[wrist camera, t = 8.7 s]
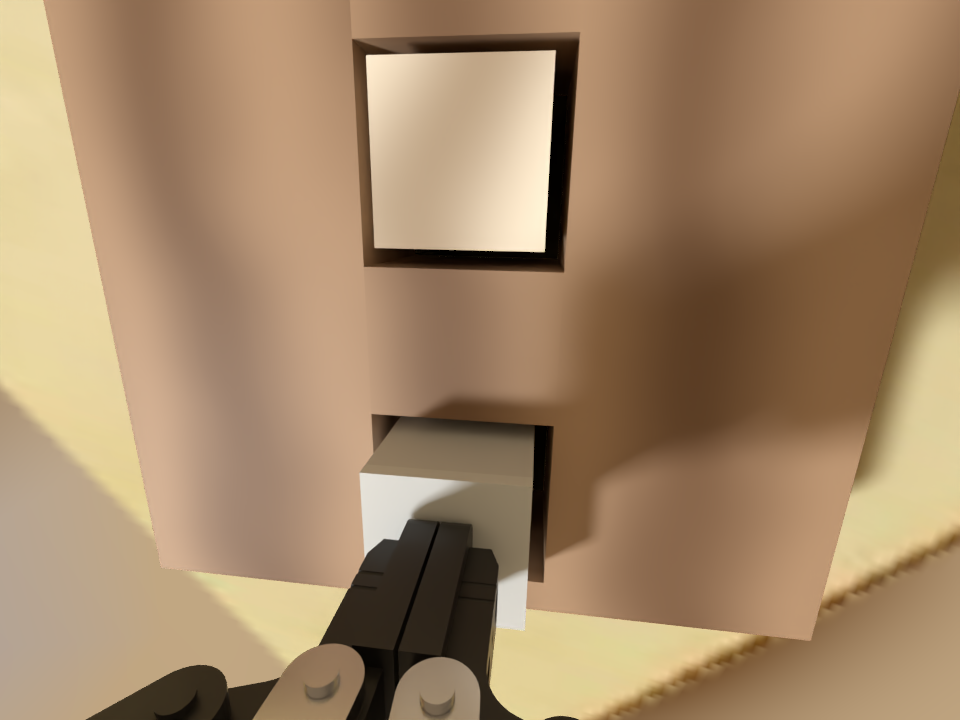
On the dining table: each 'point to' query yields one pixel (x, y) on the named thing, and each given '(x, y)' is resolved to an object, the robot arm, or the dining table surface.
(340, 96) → the socket board
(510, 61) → the peg
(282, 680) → the robot arm
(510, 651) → the dining table surface
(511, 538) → the peg
